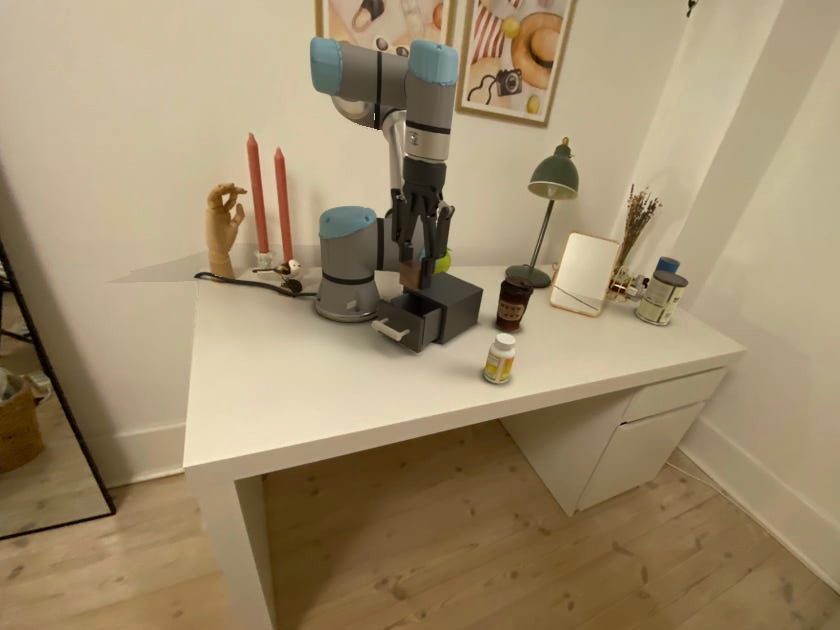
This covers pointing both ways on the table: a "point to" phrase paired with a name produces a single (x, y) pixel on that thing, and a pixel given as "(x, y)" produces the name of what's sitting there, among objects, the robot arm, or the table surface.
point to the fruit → (443, 263)
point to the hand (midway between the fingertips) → (414, 283)
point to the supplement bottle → (500, 359)
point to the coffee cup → (513, 302)
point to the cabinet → (452, 303)
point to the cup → (667, 264)
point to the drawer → (409, 320)
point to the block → (410, 274)
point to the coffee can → (661, 297)
